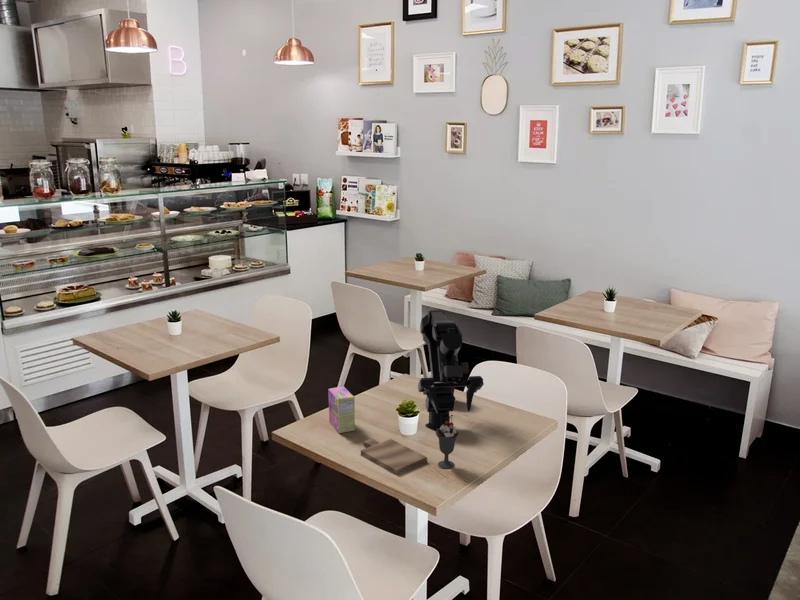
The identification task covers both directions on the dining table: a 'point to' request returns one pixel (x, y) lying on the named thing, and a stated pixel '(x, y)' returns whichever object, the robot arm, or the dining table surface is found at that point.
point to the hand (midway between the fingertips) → (453, 412)
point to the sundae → (447, 442)
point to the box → (341, 409)
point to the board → (392, 455)
